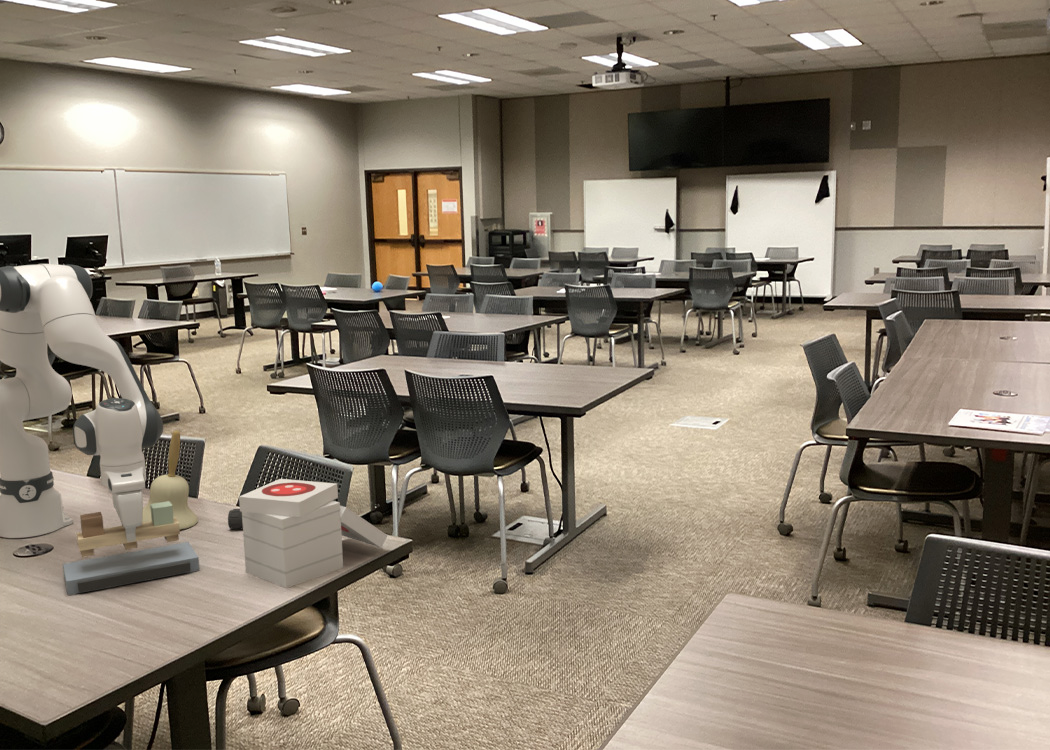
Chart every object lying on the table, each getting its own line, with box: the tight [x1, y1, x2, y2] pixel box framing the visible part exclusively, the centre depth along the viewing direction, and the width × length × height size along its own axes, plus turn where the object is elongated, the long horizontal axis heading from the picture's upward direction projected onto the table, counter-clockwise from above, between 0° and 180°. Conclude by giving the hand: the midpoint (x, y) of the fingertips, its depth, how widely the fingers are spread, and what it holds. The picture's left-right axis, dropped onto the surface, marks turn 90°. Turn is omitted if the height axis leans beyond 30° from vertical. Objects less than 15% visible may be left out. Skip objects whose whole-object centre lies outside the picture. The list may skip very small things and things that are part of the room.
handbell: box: [142, 430, 199, 531], centre depth 231 cm, size 15×15×25 cm
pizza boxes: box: [238, 478, 388, 589], centre depth 203 cm, size 19×30×18 cm, turn 140°
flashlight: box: [227, 508, 243, 531], centre depth 229 cm, size 15×5×5 cm, turn 92°
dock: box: [62, 541, 200, 596], centre depth 198 cm, size 13×26×3 cm, turn 120°
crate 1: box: [79, 511, 105, 538], centre depth 194 cm, size 4×4×4 cm
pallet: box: [76, 517, 181, 558], centre depth 198 cm, size 5×20×4 cm, turn 120°
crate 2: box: [150, 501, 174, 526], centre depth 201 cm, size 4×4×4 cm
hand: (129, 536), depth 198 cm, fingers closed on pallet, 5 cm apart
